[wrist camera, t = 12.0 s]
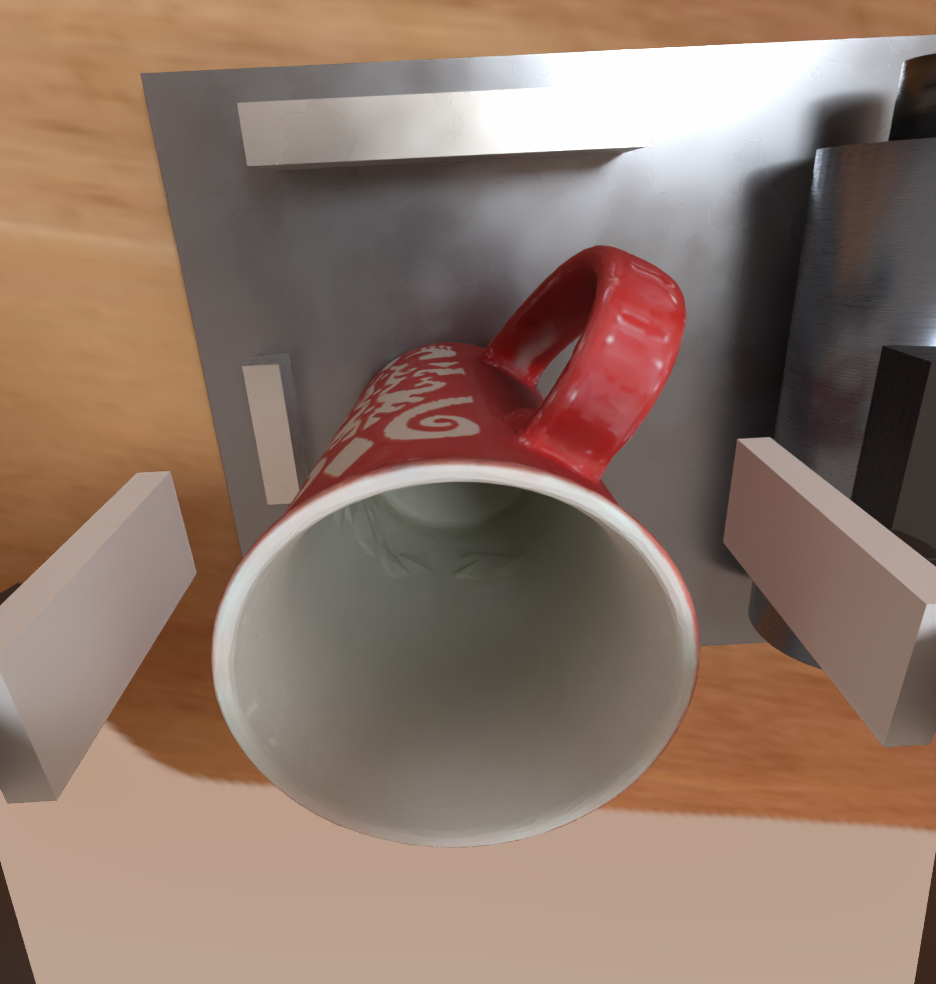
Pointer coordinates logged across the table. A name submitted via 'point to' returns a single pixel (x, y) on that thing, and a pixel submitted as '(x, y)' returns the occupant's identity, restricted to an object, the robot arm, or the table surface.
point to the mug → (473, 584)
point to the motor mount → (562, 234)
